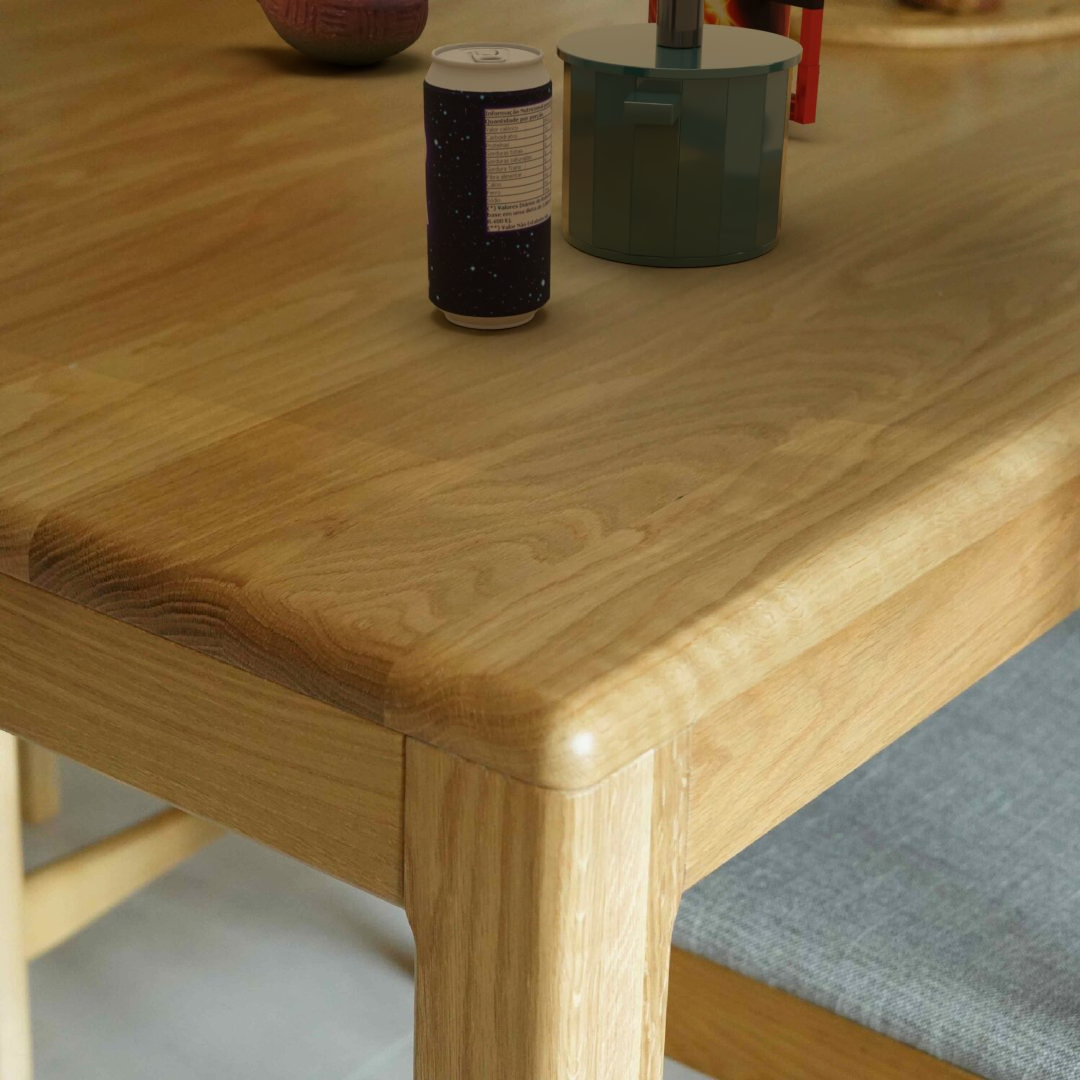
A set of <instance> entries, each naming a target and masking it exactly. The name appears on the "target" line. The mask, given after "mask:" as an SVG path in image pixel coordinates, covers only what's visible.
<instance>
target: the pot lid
mask: <svg viewBox="0 0 1080 1080" xmlns="http://www.w3.org/2000/svg"><path fill="white" fill-rule="evenodd" d="M704 6H705V0H657V21H656V23H648V22H643V23H641V22H640V23H623V24H612V25H604V26H596V27H590V28H586V29H580V30H577V31H573V32H570V33H568V34H565V35H562V37H561V36H560V37H559V39H558V40H557V41H556V45H555V53H556V56H557V57H558V58H559V59H560V60H561V61H563V62H564V61H565V62H567V63H569V64H572V65H574V66H577V67H581V68H584V69H588V70H593V71H597V72H603V73H609V74H616V75H623V76H632V77H643V78H657V79H688V80H696V79H728V78H741V77H750V76H758V75H765V74H770V73H775V72H779V71H783V70H786V69H789V68H791V67H793V68H795V66H798V64H799V63H800V62H801V60H802V54H803V48H802V46H801V45H800V42H798V41H796V40H794V39H792V38H790V37H789V38H787V37H784V36H781V35H778V34H774V33H770V32H765V31H760V30H754V29H748V28H741V27H732V26H723V25H711V24H704Z"/></svg>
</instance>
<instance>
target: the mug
mask: <svg viewBox="0 0 1080 1080" xmlns="http://www.w3.org/2000/svg"><path fill="white" fill-rule="evenodd" d="M792 7H797V8H801V9H802V10H801V22H800V34H799V35H800V36H799V44H800V45H801V46H802V48H803V54H802V60H801V62H800V63H799V64H797V71H796V72H797V74H796V88H795V93H794V92H791V101H790V114H789V121H790V122H791V121H792V122H793V123H795V124H800V125H809V124H815V123H816V118H817V117H816V115H817V105H818V93H819V81H820V70H821V69H820V68H821V65H820V56H821V47H822V46H821V44H822V33H823V20H824V10H825V9H824V8H825V0H705V6H704V24H711V25H723V26H732V27H741V28H748V29H754V30H760V31H765V32H770V33H774V34H778V35H781V36H784V37H787V38H790V28H791V27H790V26H791V16H792V15H791V12H792ZM647 15H648V16H647V23H656V21H657V0H648V13H647Z"/></svg>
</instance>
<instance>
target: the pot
mask: <svg viewBox="0 0 1080 1080" xmlns="http://www.w3.org/2000/svg"><path fill="white" fill-rule="evenodd" d="M793 74H794V67H791V68H789V69H786V70H783V71H779V72H775V73H770V74H765V75H758V76H750V77H741V78H728V79H696V80H688V79H657V78H643V77H632V76H623V75H616V74H609V73H603V72H597V71H593V70H588V69H584V68H581V67H577V66H574V65H572V64H569V63H567V62H565V61H563V83H562V84H563V85H562V86H563V87H562V88H563V90H562V93H563V94H562V95H563V97H562V98H563V99H562V155H561V156H562V160H561V161H562V164H561V166H562V167H561V168H562V169H561V224H562V226H563V227H562V228H563V229H562V230H563V232H562V234H563V236H564V239H565V240H566V241H567V242H568V244H569V245H571V246H572V247H574V248H575V249H578V250H580V251H581V252H583V253H586V254H588V255H592V256H594V257H598V258H601V259H605V260H609V261H614V262H619V263H624V264H632V265H638V266H647V267H660V268H662V267H663V268H701V267H714V266H721V265H722V266H723V265H729V264H735V263H740V262H745V261H748V260H751V259H754V258H758V257H760V256H763V255H765V254H766V253H768V252H770V251H772V250H774V248H775V247H776V245H778V243H779V238H780V229H781V227H782V219H783V218H782V217H783V204H784V191H785V179H786V178H785V177H786V164H787V150H788V141H789V140H788V139H789V138H788V137H789V127H790V126H789V125H790V120H789V114H790V101H791V93H792V88H793V87H792V86H793Z"/></svg>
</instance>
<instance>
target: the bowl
mask: <svg viewBox="0 0 1080 1080" xmlns="http://www.w3.org/2000/svg"><path fill="white" fill-rule="evenodd" d="M255 1H256V2H257V3H258V4H259V6H260V7H261V9H262V11H263V13H264V15H265V16H266V18H267V20H268V22H269V23H270V25H271V26H272V29H274V31H275V32H276V33H277V35H278V36H279V38H281V39H282V41H284V42H285V43H286V44H287V45H289V46H290V47H292V48H293V49H294V50H296V51H298V52H299V53H301V54H303V55H305V56H307V57H310V58H312V59H315V60H319V61H323V62H328V63H333V64H336V65H340V66H352V67H360V66H361V67H362V66H369V65H372V64H375V63H378V62H380V61H382V60H386V59H389V58H392V57H393V56H397V55H398V54H400V53H402V52H404V51H406V50H407V49H408V48H410V47H411V46H412V45H414V44H415V43H416V42H417V41H418V40H419V39H420V38H421V36H422V34H423V33H424V31H425V28H426V26H427V22H428V17H429V0H255Z"/></svg>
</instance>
